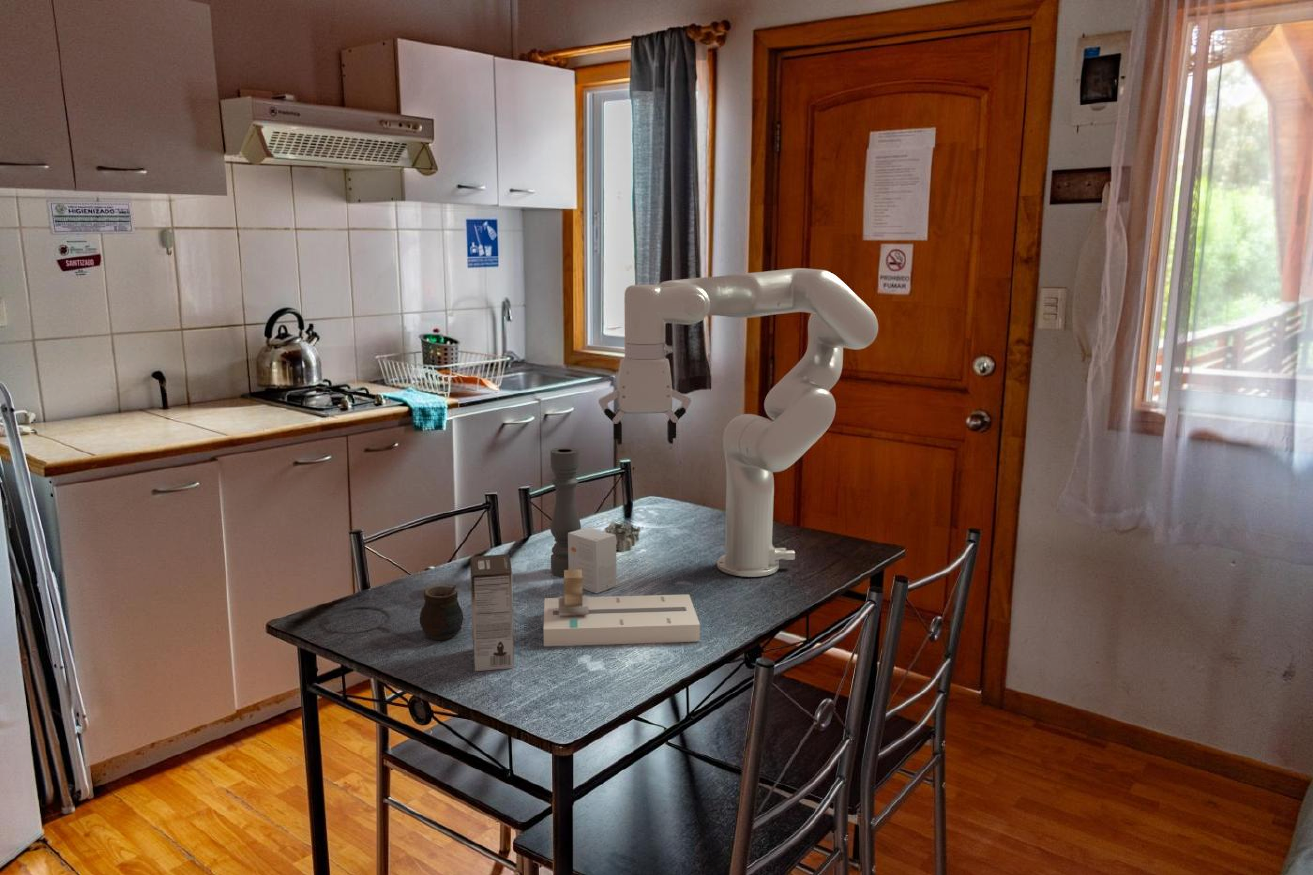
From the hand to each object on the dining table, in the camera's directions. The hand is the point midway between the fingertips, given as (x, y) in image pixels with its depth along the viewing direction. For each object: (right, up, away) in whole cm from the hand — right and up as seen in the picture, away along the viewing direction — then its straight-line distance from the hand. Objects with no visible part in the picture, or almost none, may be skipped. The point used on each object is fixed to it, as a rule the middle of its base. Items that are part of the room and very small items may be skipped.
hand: (644, 442), depth 188 cm
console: (-4, -32, -15) cm, 36 cm away
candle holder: (-16, -26, +12) cm, 33 cm away
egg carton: (-6, -23, +31) cm, 39 cm away
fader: (-12, -29, -17) cm, 35 cm away
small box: (-10, -28, +5) cm, 30 cm away
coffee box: (-24, -35, -28) cm, 51 cm away
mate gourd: (-34, -33, -19) cm, 51 cm away
